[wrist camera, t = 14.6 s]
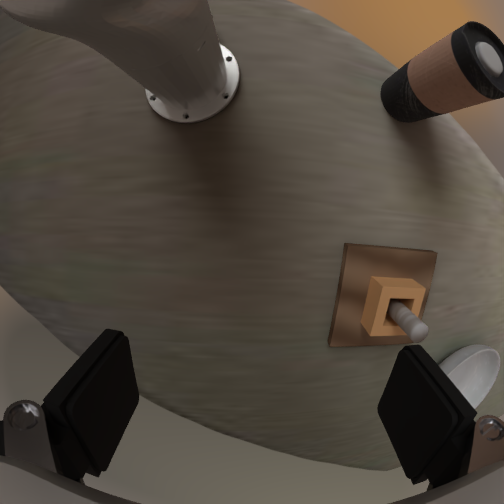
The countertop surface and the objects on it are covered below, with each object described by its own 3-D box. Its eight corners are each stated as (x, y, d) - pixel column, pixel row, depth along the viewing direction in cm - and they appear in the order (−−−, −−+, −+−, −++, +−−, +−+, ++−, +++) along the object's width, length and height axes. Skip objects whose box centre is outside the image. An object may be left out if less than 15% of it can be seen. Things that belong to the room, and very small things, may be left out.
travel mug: (428, 124, 32) (527, 101, 12) (386, 125, 32) (484, 91, 13) (414, 77, 30) (500, 30, 10) (372, 75, 30) (451, 11, 11)
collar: (371, 276, 36) (382, 286, 32) (412, 278, 36) (425, 288, 32) (360, 322, 37) (369, 336, 33) (400, 322, 37) (412, 334, 33)
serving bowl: (387, 413, 44) (398, 436, 37) (442, 325, 39) (463, 343, 33) (448, 412, 45) (460, 430, 39) (496, 338, 40) (513, 353, 34)
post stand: (344, 243, 36) (378, 268, 25) (432, 250, 36) (479, 273, 25) (327, 341, 40) (347, 390, 28) (410, 338, 40) (443, 377, 28)
